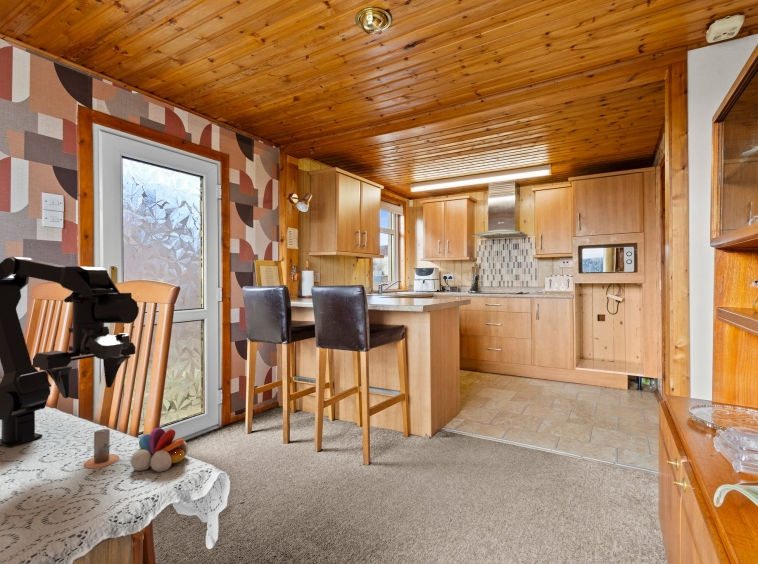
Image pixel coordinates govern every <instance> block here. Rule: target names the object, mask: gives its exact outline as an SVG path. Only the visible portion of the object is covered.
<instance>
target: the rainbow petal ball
mask: <svg viewBox="0 0 758 564" xmlns="http://www.w3.org/2000/svg"><path fill="white" fill-rule="evenodd" d="M175 438H176V430H175V429H173V428H172V429H171V428H170V429H168V430H166V431H165V430H164V429H163V428H161V427H155V428H154V429H153V430H152V431H151V432H150V433H148V434H147V433H146V434H143V435H142V436H141V437H140V438H139V440H138V444H139V445H138V446H139V449H137V450H136V451H135V452H134V453H133V454H132V456H131V458H130V464H131V467H132V468H133V469H134V470H135V471H138V472H142V471H146V470H147V469H149V468H150V467H151V469H152V470H153V471H155V472H157V473H158V472H159V473H161V472H165V471H168V469H169V468H171V466H172V464H175V463H179V462H181V461H183V459H184V458H185V457H186V456H187V454H188V452H189V445H188V443H187V442H186V441H185V440H184V438H179V439H176V440H174V439H175ZM175 452H176V453H175ZM180 454H181V455H180Z"/></svg>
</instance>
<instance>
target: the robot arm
mask: <svg viewBox="0 0 758 564" xmlns="http://www.w3.org/2000/svg"><path fill="white" fill-rule="evenodd" d="M30 278H32V279H36V280H37V279H38V280H43V281H48V282H52V283H56V284H59V285H60V286H61V287H62V288H64V289H66V290H68V291H70V292H71V294H70V295H68V296H66V297H65V298H64V299H63V302H64V303H72V327H68V333H72V345H68V351H69V352H68V351H62V350H49V351H42V352H36V354H35V355H34V357H33V358H32V360H31V356H30V353H29V349H28V345H27V342H26V339H25V336H24V331H23V328H22V325H21V321H20V317H19V314H18V310H17V307H18V305H19V303H20V301H21V299H22V291H21V290H23V288H24V287H26V286H27V285H29V280H30ZM132 296H133V295H132V292H120V290H119V289H118V288H117V286H116V285H115V283H114V281H113V280H112V278H111V277H110V275H109V273H108V270H107V269H106V268H104V267H101V266H100V267H98V266H78V265H77V266H76V265H73V266H71V265H69V266H68V265H67V266H66V265H61V264H57V263H52V262H46V261H43V260H36V259H33V258H31V257H22V256H9V257H7V258H5V259H3V260H2V261H1V262H0V363H1V367H2V371H3V376H2V379H1V380H0V421H1V438H0V446H4V447H7V448H10V447H11V448H12V447H14V446H18V445H20V444H21V445H22V444H25V443H27V442H31V441H34V440H36V439H41V438H42V437H43V434H41V433H37V432H36V418H35V417H36V411H40V410H44V409H46V406H47V402H48V399H49V396H50V395H51V387H52V384H51V383H50V380H49V377H48V375H49V376H50V378H51V379H52V381H53V382H54V384H55V386H56V387H57V389H58V391H59V393H60V395H61V396H62V397H63V399H68V398H69V396H70V373H71V371H72V369H73V367H72V366H69V365H70V364H71V362H73V361H78V360H85V359H92V358H97V359H98V360H103V361H102V363H103V371H104V381H105V385H106V388H109V389H110V388H112V386H113V384H114V381H115V378H116V377H117V373H118V372H119V369H120V367H121V365H122V364H123V363H124V362H125V361H126V360H128V359H130V358H131V356H132V355H135V354H136V351H137V349H136V348H137V347H136V345H135V343H134V342H132V341H131V342H130V334H128V333H126V332H123V333H117V334H115V335H111V333H110V329H109V326H105V324H131V323H134V322H135V321H136V319H137V318H138V317H139V313H140V307H139V305H138V303H137V301H136V300H135V299H134V298H132ZM36 368H39V370H38V369H36Z"/></svg>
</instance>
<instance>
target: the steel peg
mask: <svg viewBox="0 0 758 564" xmlns="http://www.w3.org/2000/svg"><path fill="white" fill-rule="evenodd" d="M110 431H111V429H108V428H105V429H98V430H96V431H94V433H93V441H94V442H93V458H94V463H95V464H100V463H105V462H107V461H109V455H110V441H111V440H110V438H111V437H110Z"/></svg>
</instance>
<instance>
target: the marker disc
mask: <svg viewBox="0 0 758 564" xmlns="http://www.w3.org/2000/svg"><path fill="white" fill-rule="evenodd" d="M119 459H120V456H119V455H117V454H109V461H107V462H105V463H100V464H95V463H94V457H92V458H90V459H88V460H86V461H85V462H84V463H83V464H82V465H83V466H82V467H84V468H86V469H97V468H104V467H107V466H109V465H112V464H115V463H116V462H117V460H119Z"/></svg>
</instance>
